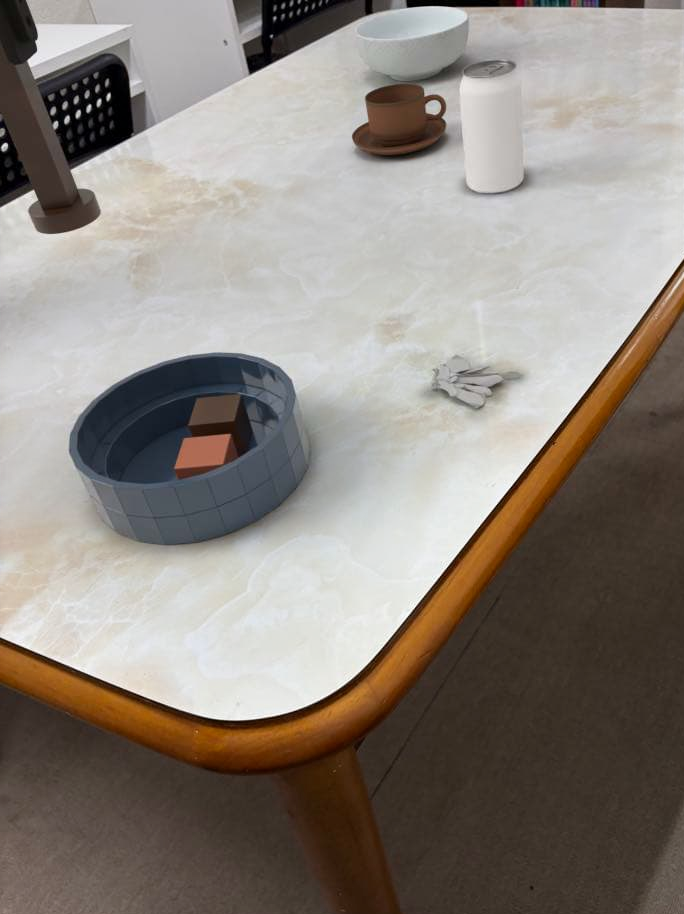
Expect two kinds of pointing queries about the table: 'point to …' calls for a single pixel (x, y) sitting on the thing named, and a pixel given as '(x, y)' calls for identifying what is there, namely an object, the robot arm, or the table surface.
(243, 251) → the table surface
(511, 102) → the can
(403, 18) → the cereal bowl
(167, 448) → the bowl
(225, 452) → the block terracotta
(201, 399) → the block walnut
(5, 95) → the stirrer
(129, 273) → the table surface
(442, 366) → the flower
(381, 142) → the cup and saucer
